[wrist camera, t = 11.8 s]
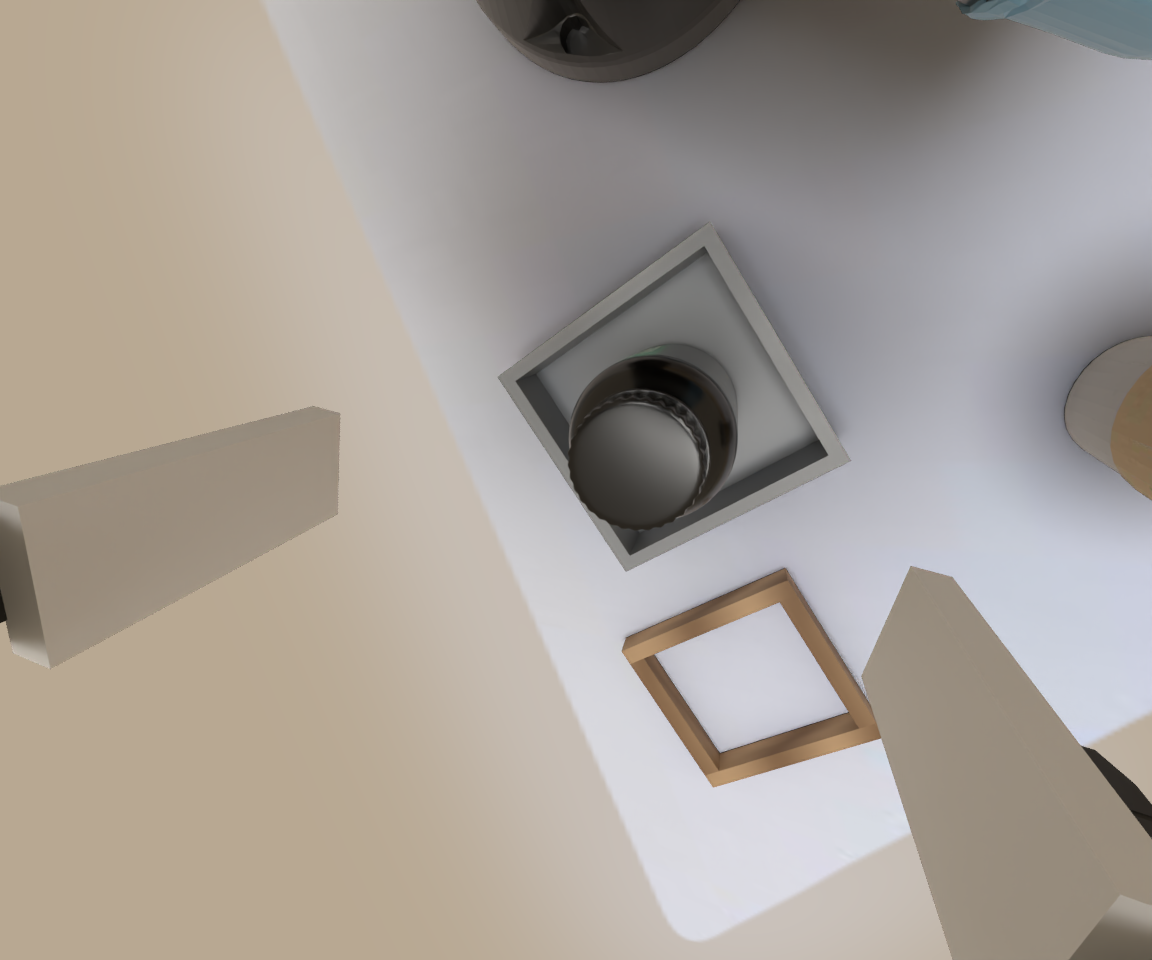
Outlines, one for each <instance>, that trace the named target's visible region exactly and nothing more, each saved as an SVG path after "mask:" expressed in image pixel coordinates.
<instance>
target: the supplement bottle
mask: <svg viewBox="0 0 1152 960" xmlns="http://www.w3.org/2000/svg"><path fill="white" fill-rule="evenodd" d="M737 444H738V403H737V396H736V391H735V388H734V385H733V383H732V380H731V378H730V376H729V375H728V373H727V372H726V370H725V369H724V368H723V366H722V365H721V364H720V363H719V362H718V361H717V360H716V359H715V358H713V357H712V356H711V355H709V354H708V353H706V352H704V351H702V350H700V349H698V348H695V347H692V346H689V345H684V344H662V345H657V346H653V347H650V348H647V349H645V350H642V351H640V352H638V353H636V354H634V355H632V356H630V357H628V358H625V359H623V360H621V361H619V362H617V363H615V364H613V365H612V366H610V367H608V368H607V369H605V370H604V371H602V372H601V373H600V374H599V375H598V376H596V377H595V378H594V379H593V380H592V381H591V382H590V383H589V384H588V386H587V387H586V388H585V389H584V391H583V392H582V394H581V395H580V397H579V399H578V401H577V403H576V405H575V407H574V410H573V413H572V416H571V421H570V426H569V451H568V456H569V462H568V468H569V470H570V479H571V481H572V482H573V487H574V490H575V492H576V493H577V494H578V495H579V498H580V501H581V502H583V503H584V504H585V505H586V506H587V508H588V510H589V511H590V512H592V513H595V514H596V516H597V517H598V518H599V519H601V520H605V521H606V522H607V523H608V524H610V525H616V526H618V527H620V528H622V529H631V530H634V531H637V530H641V529H643V530H651V529H652V528H654V527H656V528H660V527H662V526H664V525H665V524H666V523H671V522H674V521H675V519H676V518H680V517H683V516H685V515H688V514H690V513H692V512H694V511H696V510H698V509H699V508H701V507H702V506H704V505H705V504H706V503H707V502H709V501H710V500H711V499H712V498H713V497H714V496H715V495H716V494H717V493H718V492H719V490H720V489H721V488H722V486H723V485H724V484H725V482H726V480H727V478H728V477H729V475H730V472H731V470H732V467H733V464H734V461H735V457H736V452H737Z"/></svg>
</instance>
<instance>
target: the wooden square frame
mask: <svg viewBox="0 0 1152 960" xmlns="http://www.w3.org/2000/svg"><path fill="white" fill-rule="evenodd" d="M779 602H780V603H781V605H782V606H783V608H784V610H785V611H786V613H787V614H788V616H789V618H790V619H791V621H792V622H793V624H794V625H795V627H796V629H797V630H798V632H799V633H800V635H801V637H802V638H803V640H804V641H805V643H806V645H807V646H808V648H809V649H810V651H811V653H812V654H813V656H814V657H815V659H816V661H817V662H818V664H819V665H820V667H821V669H822V670H823V672H824V673H825V675H826V677H827V678H828V680H829V681H830V683H831V685H832V686H833V688H834V689H835V691H836V693H837V694H838V696H839V697H840V699H841V701H842V702H843V704H844V705H845V707H846V709H847V710H848V712H849V713H846V714H843V715H840V716H837V717H834V718H830V719H827V720H824V721H821V722H818V723H815V724H811V725H808V726H805V727H802V728H799V729H796V730H793V731H789V732H786V733H783V734H780V735H777V736H774V737H771V738H767V739H764V740H761V741H758V742H755V743H752V744H748V745H745V746H742V747H739V748H736V749H733V750H730V751H726V752H723V753H719V752H718V750H717V749H716V747H715V746H714V744H713V743H712V741H711V740H710V738H709V737H708V735H707V734H706V732H705V731H704V729H703V728H702V726H701V725H700V723H699V722H698V720H697V719H696V717H695V716H694V714H693V713H692V711H691V710H690V708H689V707H688V705H687V704H686V702H685V701H684V699H683V698H682V696H681V695H680V693H679V692H678V690H677V689H676V687H675V686H674V684H673V683H672V681H671V680H670V678H669V677H668V675H667V674H666V672H665V671H664V669H663V668H662V666H661V665H660V663H659V662H658V660H657V659H656V657H655V656H654V654H656V653H658V652H660V651H663V650H665V649H668V648H670V647H673V646H675V645H677V644H680V643H682V642H685V641H687V640H689V639H692V638H694V637H697V636H699V635H701V634H704V633H706V632H709V631H711V630H714V629H716V628H718V627H721V626H723V625H726V624H728V623H730V622H733V621H735V620H738V619H740V618H742V617H745V616H747V615H750V614H752V613H754V612H757V611H759V610H762V609H764V608H767V607H769V606H771V605H774V604H776V603H779ZM622 653H623V654H624V656H625V657H626V659H627V660H628V662H629V663H630V665H631V666H632V667H633V669H634V670H635V672H636V673H637V675H638V676H639V678H640V679H641V681H642V682H643V684H644V685H645V687H646V688H647V690H648V691H649V693H650V694H651V696H652V697H653V699H654V700H655V702H656V703H657V705H658V706H659V708H660V709H661V711H662V712H663V714H664V715H665V717H666V718H667V720H668V721H669V723H670V724H671V725H672V727H673V728H674V730H675V731H676V733H677V734H678V736H679V737H680V739H681V740H682V742H683V743H684V745H685V746H686V748H687V749H688V751H689V752H690V754H691V755H692V757H693V758H694V760H695V761H696V763H697V764H698V766H699V767H700V769H701V770H702V772H703V773H704V775H705V776H706V778H707V779H708V781H709V782H710V783H711V785H712V786H713V787H717V786H720V785H723V784H727V783H730V782H734V781H737V780H740V779H744V778H747V777H751V776H754V775H758V774H761V773H764V772H768V771H771V770H775V769H778V768H781V767H785V766H788V765H792V764H795V763H798V762H802V761H805V760H809V759H812V758H816V757H819V756H822V755H826V754H829V753H833V752H836V751H839V750H843V749H846V748H850V747H853V746H857V745H860V744H863V743H867V742H870V741H874V740H877V739H880V738H881V736H880V732H879V729H878V726H877V723H876V720H875V717H874V714H873V711H872V708H871V705H870V704H869V702H868V701H867V699H866V697H865V696H864V694H863V692H862V691H861V689H860V688H859V686H858V684H857V683H856V681H855V680H854V678H853V676H852V675H851V673H850V671H849V670H848V668H847V667H846V665H845V663H844V662H843V660H842V659H841V657H840V655H839V654H838V652H837V651H836V649H835V647H834V646H833V644H832V642H831V641H830V639H829V638H828V636H827V634H826V633H825V631H824V630H823V628H822V626H821V625H820V623H819V621H818V620H817V618H816V617H815V615H814V613H813V612H812V610H811V609H810V607H809V605H808V604H807V602H806V600H805V599H804V597H803V596H802V594H801V592H800V591H799V589H798V588H797V586H796V584H795V583H794V581H793V580H792V578H791V576H790V575H789V573H788V571H787V570H786V568H785V569H782V570H780V571H778V572H775V573H773V574H771V575H769V576H766V577H764V578H762V579H759V580H757V581H755V582H753V583H750V584H748V585H746V586H743V587H741V588H739V589H737V590H734V591H732V592H730V593H727V594H725V595H723V596H721V597H718V598H716V599H714V600H712V601H709V602H707V603H705V604H702V605H700V606H698V607H696V608H693V609H691V610H689V611H686V612H684V613H682V614H680V615H677V616H675V617H673V618H670V619H668V620H666V621H664V622H661V623H659V624H657V625H654V626H652V627H650V628H648V629H645V630H643V631H641V632H638V633H636V634H634V635H632V636H629V637H627V638H626V640H625V643H624V646H623V649H622Z"/></svg>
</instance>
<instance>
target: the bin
mask: <svg viewBox="0 0 1152 960" xmlns="http://www.w3.org/2000/svg"><path fill="white" fill-rule="evenodd" d="M662 344H684V345H689V346H692V347H695V348H698V349H700V350H702V351H704V352H706V353H708V354H709V355H711V356H712V357H713V358H715V359H716V360H717V361H718V362H719V363H720V364H721V365H722V366H723V368H724V369H725V370H726V372H727V373H728V375H729V376H730V378H731V380H732V383H733V385H734V388H735V391H736V396H737V403H738V444H737V452H736V457H735V461H734V464H733V467H732V470H731V472H730V475H729V477H728V478H727V480H726V482H725V484H724V485H723V486H722V488H721V489H720V490H719V492H718V493H717V494H716V495H715V496H714V497H713V498H712V499H711V500H710V501H709V502H707V503H706V504H705V505H704V506H702V507H701V508H699V509H698V510H696V511H694V512H692V513H690V514H688V515H685V516H683V517H680V518H676V519H675V521H674V522H671V523H666V524H665V525H664V526H662V527H660V528H656V527H654V528H652V529H651V530H643V529H641V530H637V531H634V530H631V529H622V528H620V527H618V526H616V525H610V524H608V523H607V522H606V521H605V520H601V519H599V518H598V517H597V516H596V514H595V513H592V512H590V511H589V510H588V508H587V506H586V505H585V504H584V503H583V502H581V501H580V498H579V495H578V494H577V493H576V492H575V490H574V487H573V482H572V481H571V479H570V470H569V468H568V462H569V456H568V451H569V426H570V421H571V416H572V413H573V410H574V407H575V405H576V403H577V401H578V399H579V397H580V395H581V394H582V392H583V391H584V389H585V388H586V387H587V386H588V384H589V383H590V382H591V381H592V380H593V379H594V378H595V377H596V376H598V375H599V374H600V373H601V372H602V371H604V370H605V369H607V368H608V367H610V366H612V365H613V364H615V363H617V362H619V361H621V360H623V359H625V358H628V357H630V356H632V355H634V354H636V353H638V352H640V351H642V350H645V349H647V348H650V347H653V346H657V345H662ZM498 378H499V380H500V381H501V383H502V384H503V386H504V387H505V389H506V390H507V392H508V394H509V395H510V397H511V398H512V400H513V401H514V403H515V404H516V406H517V407H518V409H519V410H520V412H521V413H522V415H523V416H524V418H525V419H526V421H527V422H528V424H529V425H530V427H531V428H532V430H533V431H534V433H535V435H536V436H537V438H538V439H539V441H540V442H541V444H542V445H543V447H544V448H545V450H546V451H547V453H548V454H549V456H550V457H551V459H552V460H553V462H554V463H555V465H556V466H557V468H558V469H559V471H560V472H561V474H562V476H563V477H564V479H565V480H566V482H567V483H568V485H569V486H570V488H571V489H572V491H573V492H574V494H575V495H576V497H577V498H578V500H579V501H580V503H581V504H582V506H583V507H584V509H585V510H586V512H587V513H588V515H589V517H590V518H591V520H592V521H593V523H594V524H595V526H596V527H597V529H598V530H599V532H600V533H601V535H602V536H603V538H604V539H605V541H606V542H607V544H608V545H609V547H610V548H611V550H612V551H613V553H614V554H615V556H616V558H617V559H618V561H619V562H620V564H621V565H622V567H623V568H624V570H625V571H626V572H627V571H629V570H631V569H633V568H635V567H637V566H639V565H641V564H643V563H645V562H647V561H649V560H651V559H653V558H655V557H657V556H659V555H661V554H663V553H665V552H667V551H669V550H671V549H673V548H675V547H677V546H679V545H681V544H683V543H685V542H687V541H689V540H691V539H693V538H695V537H698V536H700V535H702V534H704V533H706V532H708V531H710V530H712V529H714V528H716V527H718V526H720V525H722V524H724V523H726V522H728V521H730V520H732V519H734V518H736V517H738V516H740V515H742V514H744V513H746V512H748V511H750V510H752V509H754V508H756V507H758V506H760V505H762V504H764V503H766V502H769V501H771V500H773V499H775V498H777V497H779V496H781V495H783V494H785V493H787V492H789V491H791V490H793V489H795V488H797V487H799V486H801V485H803V484H805V483H807V482H809V481H811V480H813V479H815V478H817V477H819V476H821V475H823V474H825V473H827V472H829V471H831V470H833V469H835V468H838V467H840V466H842V465H844V464H846V463H848V462H850V461H851V460H850V458H849V456H848V455H847V453H846V451H845V450H844V448H843V446H842V445H841V443H840V441H839V439H838V438H837V436H836V434H835V433H834V431H833V429H832V428H831V426H830V424H829V422H828V421H827V419H826V417H825V416H824V414H823V412H822V411H821V409H820V407H819V405H818V404H817V402H816V400H815V399H814V397H813V395H812V394H811V392H810V390H809V388H808V387H807V385H806V383H805V382H804V380H803V378H802V377H801V375H800V373H799V371H798V370H797V368H796V366H795V365H794V363H793V361H792V360H791V358H790V356H789V355H788V353H787V351H786V349H785V348H784V346H783V344H782V343H781V341H780V339H779V338H778V336H777V334H776V332H775V331H774V329H773V327H772V326H771V324H770V322H769V321H768V319H767V317H766V315H765V314H764V312H763V310H762V309H761V307H760V305H759V304H758V302H757V300H756V298H755V297H754V295H753V293H752V292H751V290H750V288H749V287H748V285H747V283H746V282H745V280H744V278H743V276H742V275H741V273H740V271H739V270H738V268H737V266H736V265H735V263H734V261H733V259H732V258H731V256H730V254H729V253H728V251H727V249H726V248H725V246H724V244H723V242H722V241H721V239H720V237H719V236H718V234H717V232H716V231H715V229H714V227H713V225H712V224H711V222H709V223H707V224H706V225H704V226H703V227H702V228H700V229H699V230H698V231H696V232H695V233H694V234H692V235H691V236H689V237H688V238H687V239H685V240H684V241H683V242H681V243H680V244H678V245H677V246H676V247H674V248H673V249H672V250H670V251H669V252H668V253H666V254H665V255H663V256H662V257H661V258H659V259H658V260H657V261H655V262H654V263H653V264H651V265H650V266H648V267H647V268H646V269H644V270H643V271H642V272H640V273H639V274H638V275H636V276H635V277H633V278H632V279H631V280H629V281H628V282H627V283H625V284H624V285H623V286H621V287H620V288H618V289H617V290H616V291H614V292H613V293H612V294H610V295H609V296H607V297H606V298H605V299H603V300H602V301H601V302H599V303H598V304H597V305H595V306H594V307H592V308H591V309H590V310H588V311H587V312H586V313H584V314H583V315H582V316H580V317H579V318H577V319H576V320H575V321H573V322H572V323H571V324H569V325H568V326H567V327H565V328H564V329H562V330H561V331H560V332H558V333H557V334H556V335H554V336H553V337H552V338H550V339H549V340H547V341H546V342H545V343H543V344H542V345H541V346H539V347H538V348H537V349H535V350H534V351H532V352H531V353H530V354H528V355H527V356H526V357H524V358H523V359H521V360H520V361H519V362H517V363H516V364H515V365H513V366H512V367H511V368H509V369H508V370H506V371H505V372H504V373H502V374H501V375H500V376H498Z"/></svg>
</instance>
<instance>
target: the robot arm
mask: <svg viewBox="0 0 1152 960" xmlns="http://www.w3.org/2000/svg"><path fill="white" fill-rule="evenodd" d="M476 1H477V3H478V4H479V6H480V7H481V9H482V10H483V11H484V13H485V14H486V15H487V17H488V18H489V19H490V20H491V21H492V23H493V24H494V25H495V26H496V27H497V28H498V30H499V31H500V32H501V33H502V34H503V35H504V36H505V38H506V39H507V40H508V41H509V42H510V43H511V44H512V45H513V46H514V47H515V48H516V49H517V50H518V51H519V52H520V53H522V54H523V55H524V56H526V57H527V58H528V59H529V60H531V61H532V62H534V63H535V64H537V65H539V66H540V67H542V68H544V69H546V70H548V71H550V72H553V73H555V74H557V75H560V76H564V77H567V78H571V79H575V80H580V81H588V82H610V81H619V80H625V79H629V78H633V77H637V76H640V75H643V74H646V73H649V72H651V71H654V70H656V69H658V68H661V67H663V66H664V65H666V64H668V63H670V62H672V61H674V60H675V59H677V58H679V57H680V56H682V55H683V54H685V53H686V52H688V51H689V50H690V49H692V48H693V47H695V46H696V45H697V44H698V43H699V42H701V41H702V40H703V39H704V38H705V37H707V36H708V35H709V34H710V33H711V32H712V31H713V30H714V29H715V28H716V27H717V26H718V25H719V24H720V23H721V22H722V21H723V20H724V19H725V18H726V16H727V15H728V14H729V13H730V12H731V10H732V9H733V8H734V7H735V6H736V4H737V3H738V2H739V0H476ZM956 5H957V6H958V7H959V8H960V10H961V12H962V14H966V15H967V16H969V17H970V18H972V19H977V20H993V19H1004V18H1006V19H1009V20H1012V21H1015V22H1018V23H1021V24H1024V25H1027V26H1030V27H1033V28H1036V29H1039V30H1042V31H1046V32H1049V33H1051V34H1054V35H1057V36H1059V37H1062V38H1065V39H1067V40H1070V41H1073V42H1075V43H1078V44H1081V45H1083V46H1086V47H1089V48H1091V49H1094V50H1097V51H1099V52H1102V53H1105V54H1109V55H1113V56H1117V57H1121V58H1128V59H1142V60H1152V0H957V1H956ZM339 440H340V413H337V412H334V411H330V410H326V409H322V408H319V407H315V406H312V407H309V408H304V409H300V410H296V411H292V412H288V413H285V414H281V415H277V416H273V417H269V418H265V419H261V420H257V421H254V422H249V423H246V424H242V425H237V426H234V427H230V428H226V429H222V430H218V431H214V432H210V433H206V434H202V435H198V436H194V437H191V438H186V439H182V440H179V441H175V442H171V443H167V444H163V445H159V446H155V447H151V448H147V449H143V450H140V451H136V452H131V453H128V454H124V455H120V456H116V457H112V458H108V459H104V460H101V461H96V462H92V463H88V464H84V465H80V466H76V467H72V468H69V469H65V470H61V471H57V472H53V473H49V474H45V475H41V476H37V477H33V478H29V479H25V480H21V481H17V482H14V483H10V484H6V485H2V486H0V623H1V622H4V621H6V625H7V629H8V633H9V638H10V642H11V647H12V650H13V653H14V654H16V655H18V656H21V657H23V658H25V659H28V660H30V661H33V662H35V663H37V664H40V665H42V666H44V667H47V668H49V669H51V668H53V667H55V666H57V665H59V664H61V663H63V662H65V661H66V660H68V659H70V658H72V657H74V656H76V655H77V654H79V653H81V652H83V651H84V650H87V649H89V648H90V647H92V646H94V645H96V644H98V643H100V642H102V641H103V640H105V639H107V638H109V637H111V636H113V635H115V634H116V633H118V632H120V631H122V630H124V629H125V628H128V627H129V626H131V625H133V624H135V623H137V622H139V621H140V620H142V619H144V618H146V617H148V616H150V615H152V614H153V613H155V612H157V611H159V610H161V609H163V608H165V607H166V606H168V605H170V604H172V603H174V602H176V601H178V600H179V599H181V598H183V597H185V596H187V595H189V594H190V593H193V592H194V591H196V590H198V589H200V588H202V587H204V586H206V585H207V584H209V583H211V582H213V581H215V580H216V579H218V578H220V577H222V576H224V575H226V574H228V573H230V572H231V571H233V570H235V569H237V568H239V567H241V566H243V565H244V564H246V563H248V562H250V561H252V560H254V559H256V558H257V557H259V556H261V555H263V554H265V553H267V552H269V551H270V550H272V549H274V548H276V547H277V546H280V545H282V544H283V543H285V542H287V541H289V540H291V539H293V538H294V537H296V536H298V535H300V534H302V533H304V532H305V531H307V530H309V529H311V528H313V527H315V526H317V525H319V524H320V523H322V522H324V521H326V520H328V519H330V518H332V517H334V516H335V515H337V514H338V481H339ZM861 677H862V680H863V683H864V686H865V689H866V692H867V695H868V698H869V701H870V705H871V708H872V711H873V714H874V717H875V720H876V723H877V726H878V729H879V732H880V736H881V739H882V742H883V745H884V748H885V751H886V754H887V757H888V760H889V764H890V767H891V770H892V773H893V776H894V779H895V782H896V785H897V788H898V792H899V795H900V798H901V801H902V804H903V807H904V810H905V813H906V816H907V819H908V823H909V826H910V829H911V832H912V835H913V838H914V841H915V844H916V847H917V851H918V853H919V857H920V860H921V863H922V866H923V869H924V872H925V875H926V879H927V882H928V885H929V888H930V891H931V894H932V897H933V900H934V903H935V906H936V909H937V913H938V916H939V919H940V922H941V925H942V928H943V931H944V934H945V938H946V941H947V944H948V947H949V950H950V953H951V956H952V959H953V960H1152V804H1151V803H1150V802H1149V801H1148V799H1147V798H1146V797H1145V796H1144V794H1143V793H1142V792H1141V791H1140V790H1139V788H1138V787H1137V786H1136V785H1135V784H1134V783H1133V782H1131V780H1129V779H1128V778H1127V777H1126V776H1125V775H1124V774H1122V773H1121V772H1120V771H1119V770H1118V769H1116V768H1115V767H1114V766H1113V765H1112V764H1111V763H1110V762H1108V761H1107V760H1106V759H1105V758H1104V757H1102V756H1101V755H1100V754H1099V753H1098V752H1097V751H1095V750H1093V749H1090V748H1086V747H1083V746H1081V745H1080V744H1079V743H1078V741H1077V740H1076V739H1075V738H1074V736H1073V735H1072V734H1071V732H1070V731H1069V730H1068V728H1067V727H1066V726H1065V724H1064V723H1063V722H1062V720H1061V719H1060V718H1059V717H1058V715H1057V714H1056V713H1055V711H1054V710H1053V709H1052V707H1051V706H1050V705H1049V703H1048V702H1047V701H1046V699H1045V698H1044V697H1043V696H1042V694H1041V693H1040V692H1039V690H1038V689H1037V688H1036V686H1035V685H1034V684H1033V682H1032V681H1031V680H1030V678H1029V677H1028V676H1027V675H1026V673H1025V672H1024V671H1023V669H1022V668H1021V667H1020V665H1019V664H1018V663H1017V661H1016V660H1015V659H1014V657H1013V656H1012V655H1011V653H1010V652H1009V651H1008V650H1007V648H1006V647H1005V646H1004V644H1003V643H1002V642H1001V640H1000V639H999V638H998V636H997V635H996V634H995V632H994V631H993V630H992V629H991V627H990V626H989V625H988V623H987V622H986V621H985V619H984V618H983V617H982V615H981V614H980V613H979V611H978V610H977V609H976V608H975V606H974V605H973V604H972V602H971V601H970V600H969V598H968V597H967V596H966V594H965V593H964V592H963V590H962V589H961V588H960V587H959V585H958V584H957V583H956V581H955V580H954V579H953V577H950V576H946V575H943V574H939V573H935V572H931V571H928V570H924V569H920V568H916V567H913V566H911V567H910V569H909V571H908V573H907V576H906V578H905V580H904V582H903V584H902V587H901V589H900V591H899V593H898V596H897V598H896V600H895V602H894V605H893V607H892V609H891V611H890V613H889V616H888V618H887V620H886V622H885V625H884V627H883V629H882V631H881V634H880V636H879V638H878V640H877V642H876V645H875V647H874V649H873V651H872V654H871V656H870V658H869V660H868V663H867V665H866V667H865V669H864V671H863V674H862V676H861Z"/></svg>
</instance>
